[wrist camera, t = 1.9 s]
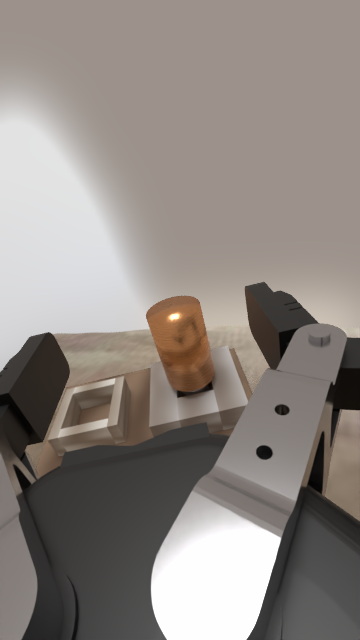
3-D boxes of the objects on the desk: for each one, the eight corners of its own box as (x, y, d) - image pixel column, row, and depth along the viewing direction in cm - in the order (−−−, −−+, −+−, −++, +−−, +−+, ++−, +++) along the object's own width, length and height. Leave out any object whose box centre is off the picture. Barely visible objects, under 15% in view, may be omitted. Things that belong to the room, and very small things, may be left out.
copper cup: (216, 378, 33) (196, 291, 27) (225, 411, 29) (203, 315, 23) (174, 388, 33) (146, 303, 28) (177, 421, 29) (145, 330, 23)
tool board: (235, 354, 37) (231, 332, 35) (273, 452, 25) (270, 425, 23) (69, 393, 38) (58, 372, 37) (29, 504, 26) (9, 482, 24)
